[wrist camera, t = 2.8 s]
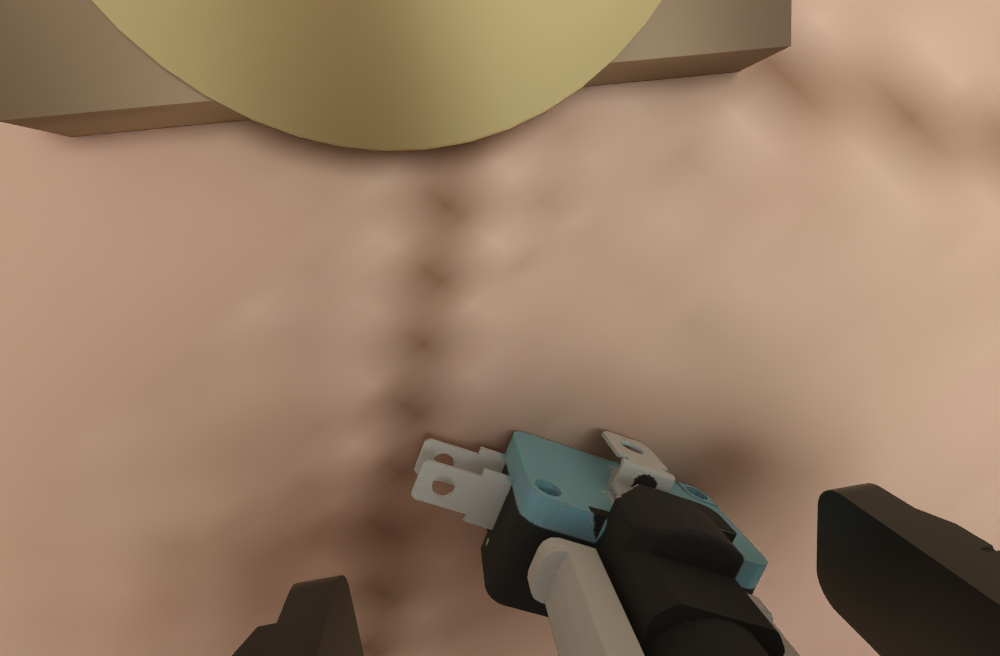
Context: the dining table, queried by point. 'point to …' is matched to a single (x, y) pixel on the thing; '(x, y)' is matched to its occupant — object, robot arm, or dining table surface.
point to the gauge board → (355, 61)
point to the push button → (607, 549)
